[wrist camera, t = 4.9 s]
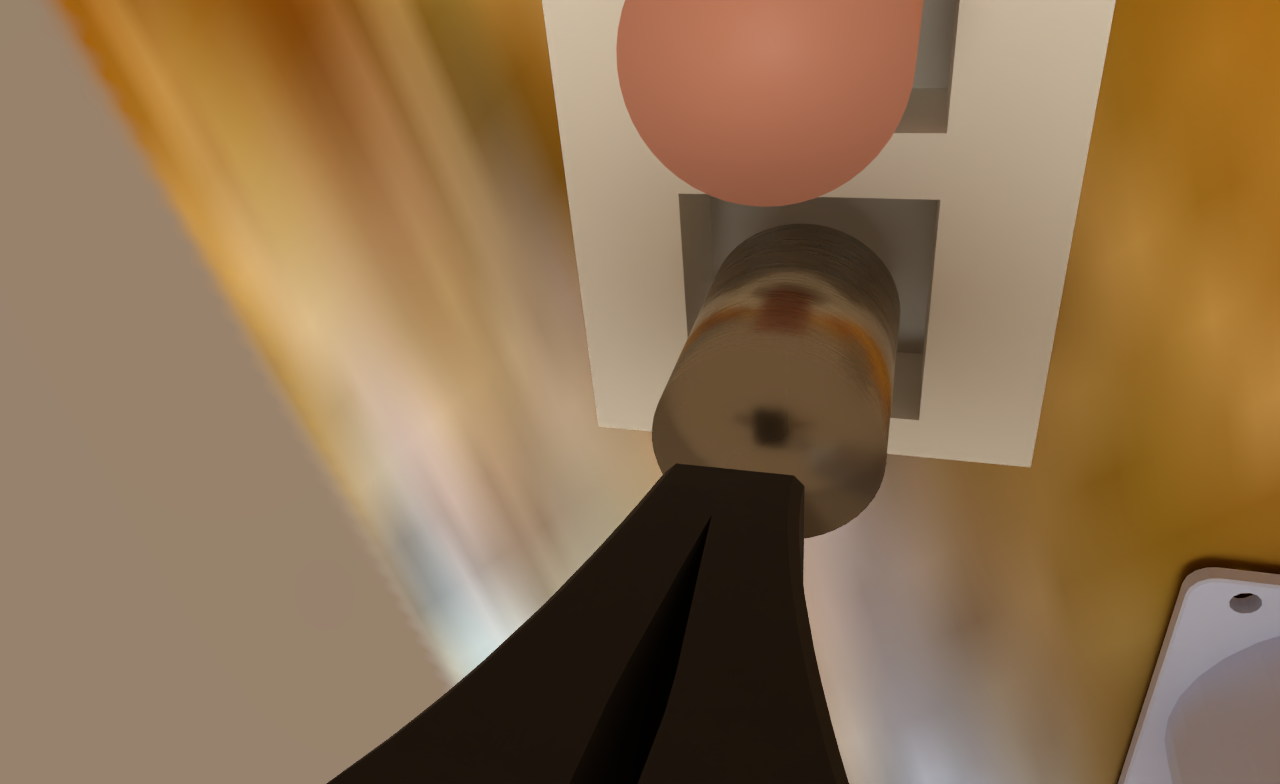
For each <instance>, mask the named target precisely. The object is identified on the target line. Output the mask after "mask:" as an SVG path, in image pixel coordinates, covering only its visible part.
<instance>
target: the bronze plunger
mask: <svg viewBox="0 0 1280 784" xmlns="http://www.w3.org/2000/svg"><path fill="white" fill-rule="evenodd" d="M899 324H900V300H899V294H898V291H897V288H896V284H895V282H894V280H893V278H892V276H891V274H890V272H889V270H888V269H887V267H886V266H885V264H884V263H883V261H882V260H881V259H880V258H879V257H878V256H877V255H876V254H875V253H874V252H873V251H872V250H871V249H870V248H869V247H867V246H866V245H865V244H863V243H862V242H860V241H859V240H857V239H856V238H854V237H852V236H850V235H848V234H846V233H844V232H842V231H839V230H836V229H833V228H830V227H826V226H821V225H816V224H805V223H803V224H787V225H780V226H776V227H772V228H769V229H766V230H763V231H761V232H759V233H756V234H754V235H753V236H751V237H749V238H748V239H746V240H744V241H743V242H742V243H741V244H739V245H738V246H737V247H736V248H735V249H734V250H733V251H732V252H731V253H730V254H729V255H728V256H727V258H726V259H725V260H724V262H723V263H722V265H721V266H720V268H719V270H718V272H717V274H716V277H715V279H714V281H713V283H712V285H711V288H710V290H709V292H708V294H707V296H706V299H705V301H704V303H703V305H702V307H701V310H700V312H699V314H698V316H697V319H696V321H695V323H694V325H693V327H692V330H691V332H690V334H689V336H688V338H687V341H686V343H685V345H684V347H683V349H682V352H681V354H680V356H679V358H678V360H677V363H676V365H675V367H674V369H673V371H672V374H671V376H670V378H669V380H668V383H667V385H666V387H665V389H664V391H663V394H662V396H661V398H660V400H659V402H658V405H657V408H656V411H655V414H654V418H653V425H652V442H653V448H654V453H655V456H656V459H657V462H658V465H659V467H660V469H661V471H662V473H663V474H664V473H665V472H666V471H667V470H668V469H670V468H671V467H672V466H673V465H675V464H676V463H678V464H687V465H697V466H707V467H717V468H727V469H736V470H746V471H756V472H766V473H776V474H785V475H794V476H795V477H796V478H797V479H798V480H799V481H800V482H801V483H802V484H803V485H804V486H805V495H804V538H810V537H814V536H818V535H822V534H825V533H827V532H830V531H833V530H835V529H837V528H839V527H841V526H843V525H845V524H847V523H848V522H850V521H851V520H852V519H854V518H855V517H857V516H858V515H859V514H860V513H861V512H862V511H863V510H864V509H865V508H866V507H867V506H868V505H869V503H870V502H871V501H872V500H873V498H874V497H875V495H876V493H877V491H878V489H879V488H880V485H881V482H882V479H883V476H884V472H885V466H886V457H887V447H888V437H889V426H890V416H891V406H892V396H893V385H894V375H895V365H896V355H897V344H898V334H899Z"/></svg>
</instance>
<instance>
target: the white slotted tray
mask: <svg viewBox="0 0 1280 784" xmlns="http://www.w3.org/2000/svg"><path fill="white" fill-rule="evenodd" d="M624 2H625V0H542V4H543V11H544V19H545V26H546V34H547V41H548V49H549V57H550V64H551V72H552V79H553V87H554V94H555V102H556V110H557V117H558V125H559V132H560V140H561V148H562V155H563V163H564V170H565V178H566V185H567V193H568V201H569V208H570V216H571V223H572V231H573V238H574V246H575V254H576V261H577V269H578V276H579V284H580V291H581V299H582V307H583V314H584V322H585V329H586V337H587V344H588V352H589V360H590V367H591V375H592V382H593V390H594V397H595V405H596V413H597V420H598V426H599V427H609V428H620V429H631V430H641V431H652V425H653V418H654V414H655V411H656V408H657V405H658V402H659V400H660V398H661V396H662V394H663V391H664V389H665V387H666V385H667V383H668V380H669V378H670V376H671V374H672V371H673V369H674V367H675V365H676V363H677V360H678V358H679V356H680V354H681V352H682V349H683V347H684V345H685V343H686V341H687V338H688V336H689V334H690V332H691V330H692V327H693V325H694V323H695V321H696V319H697V316H698V314H699V312H700V310H701V307H702V305H703V303H704V301H705V299H706V296H707V294H708V292H709V290H710V288H711V285H712V283H713V281H714V279H715V277H716V274H717V272H718V270H719V268H720V266H721V265H722V263H723V262H724V260H725V259H726V258H727V256H728V255H729V254H730V253H731V252H732V251H733V250H734V249H735V248H736V247H737V246H738V245H739V244H741V243H742V242H743V241H744V240H746V239H748V238H749V237H751V236H753V235H754V234H756V233H759V232H761V231H763V230H766V229H769V228H772V227H776V226H780V225H787V224H803V223H805V224H816V225H821V226H826V227H830V228H833V229H836V230H839V231H842V232H844V233H846V234H848V235H850V236H852V237H854V238H856V239H857V240H859V241H860V242H862V243H863V244H865V245H866V246H867V247H869V248H870V249H871V250H872V251H873V252H874V253H875V254H876V255H877V256H878V257H879V258H880V259H881V260H882V261H883V263H884V264H885V266H886V267H887V269H888V270H889V272H890V274H891V276H892V278H893V280H894V282H895V284H896V288H897V291H898V294H899V300H900V324H899V334H898V344H897V355H896V365H895V375H894V385H893V396H892V406H891V416H890V426H889V437H888V447H887V454H895V455H905V456H916V457H927V458H937V459H948V460H958V461H969V462H979V463H990V464H1001V465H1011V466H1022V467H1031V462H1032V457H1033V452H1034V446H1035V441H1036V435H1037V430H1038V424H1039V419H1040V413H1041V408H1042V402H1043V397H1044V391H1045V386H1046V380H1047V375H1048V369H1049V364H1050V358H1051V353H1052V347H1053V342H1054V336H1055V331H1056V325H1057V320H1058V314H1059V309H1060V303H1061V298H1062V292H1063V287H1064V281H1065V276H1066V270H1067V265H1068V260H1069V254H1070V249H1071V243H1072V238H1073V232H1074V227H1075V221H1076V216H1077V210H1078V205H1079V199H1080V194H1081V188H1082V183H1083V177H1084V172H1085V166H1086V161H1087V155H1088V150H1089V144H1090V139H1091V133H1092V128H1093V122H1094V117H1095V111H1096V106H1097V100H1098V95H1099V89H1100V84H1101V78H1102V73H1103V68H1104V62H1105V57H1106V51H1107V46H1108V40H1109V35H1110V29H1111V24H1112V18H1113V13H1114V7H1115V2H1116V0H924V4H923V12H922V20H921V28H920V36H919V44H918V52H917V60H916V68H915V75H914V82H913V86H912V90H911V94H910V97H909V101H908V104H907V107H906V109H905V111H904V114H903V116H902V118H901V121H900V123H899V125H898V126H897V128H896V130H895V132H894V133H893V135H892V137H891V138H890V140H889V141H888V143H887V144H886V145H885V147H884V148H883V149H882V150H881V152H880V153H879V154H878V156H877V157H876V158H875V159H874V160H873V161H872V162H871V163H870V164H869V165H868V166H867V167H866V168H865V169H864V170H862V171H861V172H860V173H859V174H857V175H856V176H855V177H853V178H852V179H851V180H850V181H848V182H846V183H845V184H843V185H841V186H840V187H838V188H836V189H835V190H833V191H831V192H828V193H826V194H824V195H821V196H819V197H817V198H814V199H811V200H807V201H804V202H800V203H796V204H790V205H784V206H768V207H760V206H748V205H741V204H737V203H732V202H727V201H724V200H721V199H718V198H715V197H713V196H710V195H708V194H706V193H704V192H702V191H700V190H697V189H695V188H693V187H692V186H690V185H689V184H687V183H686V182H684V181H683V180H681V179H680V178H678V177H677V176H676V175H675V174H673V173H672V172H671V171H670V170H669V169H667V168H666V167H665V166H664V165H663V164H662V163H661V162H660V161H659V160H658V158H657V157H656V156H655V155H654V154H653V153H652V152H651V150H650V149H649V148H648V146H647V145H646V144H645V142H644V141H643V140H642V138H641V136H640V135H639V133H638V131H637V129H636V128H635V126H634V124H633V122H632V120H631V118H630V115H629V113H628V110H627V108H626V106H625V103H624V99H623V96H622V92H621V88H620V84H619V77H618V71H617V54H616V46H617V34H618V26H619V22H620V17H621V12H622V8H623V5H624Z"/></svg>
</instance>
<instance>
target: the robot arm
mask: <svg viewBox="0 0 1280 784" xmlns="http://www.w3.org/2000/svg"><path fill="white" fill-rule="evenodd" d="M804 495H805V486H804V485H803V484H802V483H801V482H800V481H799V480H798V479H797V478H796V477H795V476H794V475H785V474H776V473H766V472H756V471H746V470H736V469H727V468H717V467H707V466H697V465H687V464H678V463H676V464H675V465H673V466H672V467H671V468H670V469H668V470H667V471H666V472H665V473H664V474H663V475H662V477H661V478H660V479H659V480H658V481H657V483H656V484H655V485H654V486H653V487H652V488H651V490H650V491H649V492H648V493H647V494H646V495H645V497H644V498H643V499H642V500H641V501H640V502H639V504H638V505H637V506H636V507H635V508H634V509H633V510H632V512H631V513H630V514H629V515H628V516H627V517H626V518H625V520H624V521H623V522H622V523H621V524H620V525H619V526H618V527H617V528H616V530H615V531H614V532H613V533H612V534H611V535H610V536H609V537H608V538H607V539H606V541H605V542H604V543H603V544H602V545H601V546H600V547H599V548H598V549H597V550H596V551H595V552H594V553H593V555H592V556H591V557H590V558H589V559H588V560H587V561H586V562H585V563H584V564H583V565H582V566H581V567H580V568H579V569H578V570H577V571H576V572H575V573H574V574H573V575H572V576H571V577H570V578H569V579H568V580H567V581H566V583H565V584H564V585H563V586H562V587H561V588H560V589H559V590H558V591H557V592H556V593H555V594H554V595H553V596H552V597H551V598H550V599H549V600H548V601H547V602H546V603H545V604H544V605H543V606H542V607H541V608H540V609H539V610H538V611H537V612H535V613H534V614H533V615H532V616H531V617H530V618H529V619H528V620H527V621H526V622H525V623H524V624H523V625H522V626H520V627H519V628H518V629H517V630H516V631H515V632H514V633H513V634H512V635H511V636H510V637H509V638H508V639H507V640H505V641H504V642H503V643H502V644H501V645H500V646H499V647H498V648H497V649H496V650H495V651H494V652H493V653H491V654H490V655H489V656H488V657H487V658H486V659H485V660H484V661H483V662H482V663H480V664H479V665H478V666H477V667H476V668H475V669H474V670H472V671H471V672H470V673H469V674H468V675H467V676H465V677H464V678H463V679H462V680H461V681H460V682H458V683H457V684H456V685H455V686H454V687H453V688H451V689H450V690H449V691H448V692H447V693H445V694H444V695H443V696H442V697H441V698H439V699H438V700H437V701H436V702H435V703H433V704H432V705H431V706H429V707H428V708H427V709H426V710H424V711H423V712H422V713H421V714H420V715H418V716H417V717H416V718H414V719H413V720H412V721H411V722H409V723H408V724H407V725H406V726H404V727H403V728H402V729H400V730H399V731H398V732H397V733H395V734H394V735H393V736H391V737H390V738H389V739H388V740H386V741H385V742H383V743H382V744H381V745H379V746H378V747H376V748H375V749H374V750H372V751H371V752H370V753H368V754H367V755H365V756H364V757H363V758H361V759H360V760H358V761H357V762H356V763H354V764H353V765H352V766H350V767H349V768H347V769H346V770H345V771H343V772H342V773H341V774H339V775H338V776H337V777H335V778H334V779H332V780H331V781H330V782H328V783H327V784H849V783H848V779H847V776H846V773H845V769H844V766H843V762H842V759H841V756H840V752H839V749H838V745H837V741H836V738H835V734H834V731H833V727H832V723H831V719H830V715H829V711H828V707H827V703H826V699H825V695H824V691H823V687H822V683H821V679H820V674H819V670H818V665H817V661H816V656H815V652H814V646H813V641H812V635H811V630H810V624H809V618H808V613H807V607H806V601H805V595H804V587H803V558H804ZM1241 593H1251V594H1253V595H1251V596H1249V597H1246V598H1234V597H1233V596H1236V595H1238V594H1241ZM1118 784H1280V574H1271V573H1263V572H1254V571H1245V570H1237V569H1228V568H1219V567H1208V568H1203V569H1199V570H1196V571H1194V572H1192V573H1191V574H1189V575H1188V576H1187V577H1186V578H1185V580H1184V581H1183V583H1182V586H1181V589H1180V592H1179V595H1178V598H1177V601H1176V605H1175V608H1174V611H1173V614H1172V617H1171V620H1170V623H1169V626H1168V629H1167V633H1166V636H1165V639H1164V642H1163V645H1162V648H1161V651H1160V654H1159V657H1158V661H1157V664H1156V667H1155V670H1154V673H1153V676H1152V679H1151V682H1150V685H1149V689H1148V692H1147V695H1146V698H1145V701H1144V704H1143V707H1142V710H1141V713H1140V717H1139V720H1138V723H1137V726H1136V729H1135V732H1134V735H1133V738H1132V741H1131V745H1130V748H1129V751H1128V754H1127V757H1126V760H1125V763H1124V766H1123V769H1122V773H1121V776H1120V779H1119V782H1118Z"/></svg>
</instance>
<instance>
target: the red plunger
mask: <svg viewBox="0 0 1280 784" xmlns="http://www.w3.org/2000/svg"><path fill="white" fill-rule="evenodd" d="M923 4H924V0H625V2H624V5H623V8H622V12H621V17H620V22H619V26H618V34H617V46H616V54H617V71H618V77H619V84H620V88H621V92H622V96H623V99H624V103H625V106H626V108H627V110H628V113H629V115H630V118H631V120H632V122H633V124H634V126H635V128H636V129H637V131H638V133H639V135H640V136H641V138H642V140H643V141H644V142H645V144H646V145H647V146H648V148H649V149H650V150H651V152H652V153H653V154H654V155H655V156H656V157H657V158H658V160H659V161H660V162H661V163H662V164H663V165H664V166H665V167H666V168H667V169H669V170H670V171H671V172H672V173H673V174H675V175H676V176H677V177H678V178H680V179H681V180H683V181H684V182H686V183H687V184H689V185H690V186H692V187H693V188H695V189H697V190H700V191H702V192H704V193H706V194H708V195H710V196H713V197H715V198H718V199H721V200H724V201H727V202H732V203H737V204H741V205H748V206H760V207H768V206H784V205H790V204H796V203H800V202H804V201H807V200H811V199H814V198H817V197H819V196H821V195H824V194H826V193H828V192H831V191H833V190H835V189H836V188H838V187H840V186H841V185H843V184H845V183H846V182H848V181H850V180H851V179H852V178H853V177H855V176H856V175H857V174H859V173H860V172H861V171H862V170H864V169H865V168H866V167H867V166H868V165H869V164H870V163H871V162H872V161H873V160H874V159H875V158H876V157H877V156H878V154H879V153H880V152H881V150H882V149H883V148H884V147H885V145H886V144H887V143H888V141H889V140H890V138H891V137H892V135H893V133H894V132H895V130H896V128H897V126H898V125H899V123H900V121H901V118H902V116H903V114H904V111H905V109H906V107H907V104H908V101H909V97H910V94H911V90H912V86H913V82H914V75H915V68H916V60H917V52H918V44H919V36H920V28H921V20H922V12H923Z"/></svg>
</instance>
